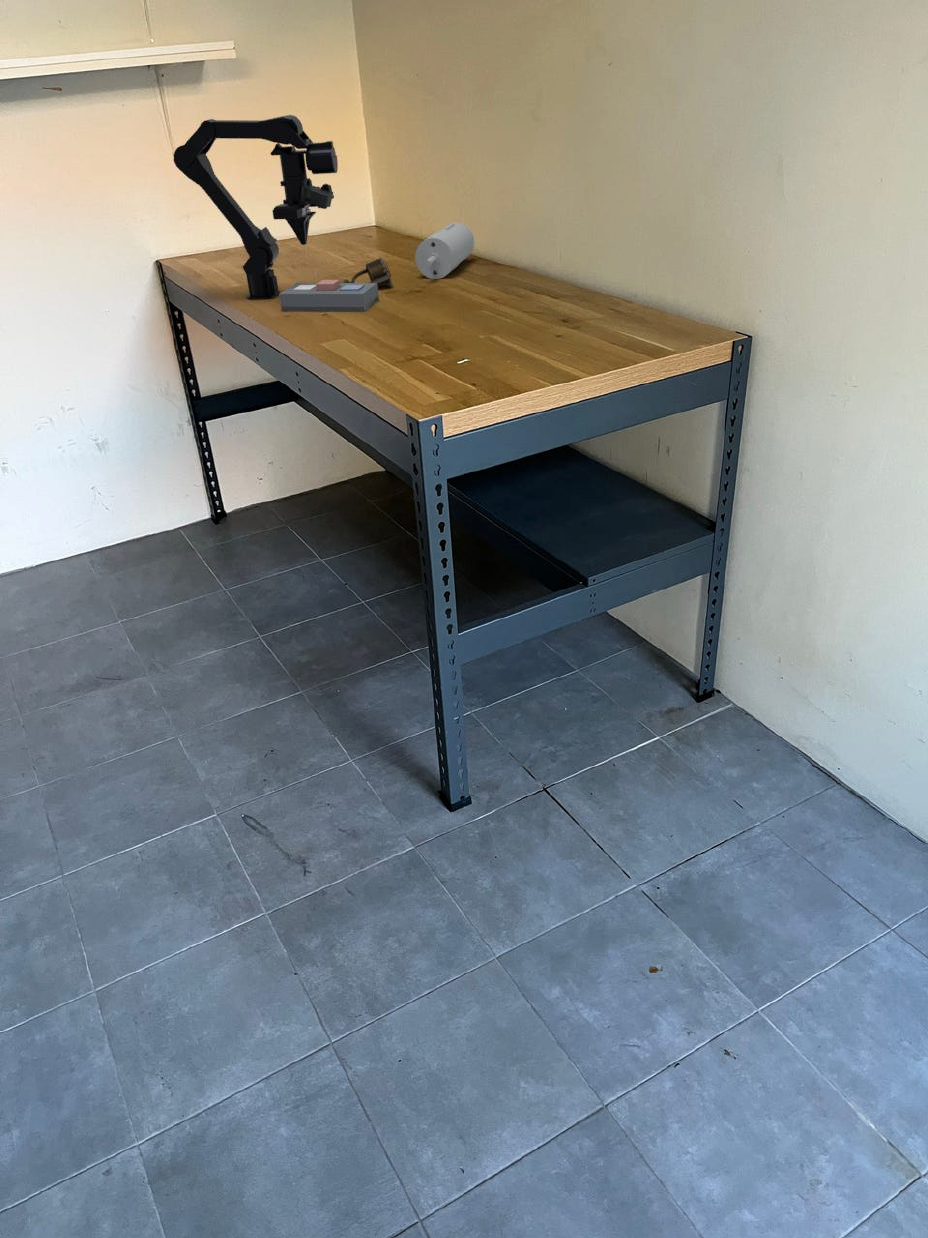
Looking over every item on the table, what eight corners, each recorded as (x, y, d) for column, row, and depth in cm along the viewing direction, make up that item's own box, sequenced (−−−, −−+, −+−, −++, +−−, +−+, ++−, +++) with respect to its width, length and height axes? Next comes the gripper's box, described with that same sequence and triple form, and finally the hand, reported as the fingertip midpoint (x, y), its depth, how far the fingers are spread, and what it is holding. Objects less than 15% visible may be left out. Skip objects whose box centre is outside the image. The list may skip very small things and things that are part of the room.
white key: (295, 302, 226) (293, 289, 224) (301, 297, 229) (300, 284, 228) (312, 302, 225) (310, 289, 223) (318, 297, 228) (316, 284, 227)
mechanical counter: (390, 270, 232) (395, 252, 239) (339, 267, 232) (345, 250, 240) (391, 297, 237) (395, 280, 244) (341, 294, 238) (346, 277, 245)
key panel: (281, 310, 224) (279, 293, 222) (298, 299, 233) (296, 283, 231) (364, 311, 219) (362, 293, 217) (378, 299, 228) (377, 282, 226)
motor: (448, 284, 240) (445, 242, 234) (410, 284, 242) (406, 242, 237) (477, 259, 264) (475, 220, 259) (442, 259, 267) (440, 221, 262)
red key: (317, 296, 224) (315, 283, 222) (324, 292, 227) (322, 279, 226) (334, 296, 223) (333, 283, 221) (341, 292, 226) (339, 279, 225)
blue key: (341, 302, 223) (340, 289, 221) (348, 297, 227) (346, 284, 225) (359, 302, 222) (357, 289, 220) (365, 297, 226) (363, 284, 224)
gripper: (312, 179, 213) (321, 251, 222) (339, 168, 229) (347, 236, 237) (266, 180, 216) (277, 252, 224) (297, 170, 231) (306, 237, 239)
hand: (304, 244), depth 231 cm, fingers closed
